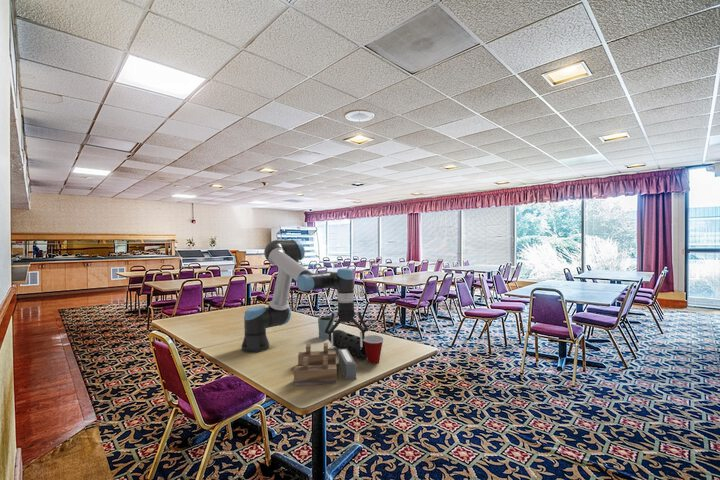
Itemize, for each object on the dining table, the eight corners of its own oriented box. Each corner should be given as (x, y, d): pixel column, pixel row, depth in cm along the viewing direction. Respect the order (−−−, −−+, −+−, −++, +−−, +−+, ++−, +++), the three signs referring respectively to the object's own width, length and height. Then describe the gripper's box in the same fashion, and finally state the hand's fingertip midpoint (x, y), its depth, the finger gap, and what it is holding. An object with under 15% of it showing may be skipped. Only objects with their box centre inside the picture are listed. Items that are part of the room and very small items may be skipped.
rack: (336, 383, 148) (336, 359, 148) (294, 385, 147) (293, 361, 147) (335, 362, 174) (335, 342, 174) (299, 363, 172) (299, 343, 172)
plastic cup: (368, 367, 167) (368, 342, 167) (359, 360, 177) (359, 336, 177) (388, 363, 171) (388, 339, 171) (378, 356, 181) (378, 333, 181)
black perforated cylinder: (359, 361, 175) (358, 341, 175) (328, 348, 197) (327, 330, 197) (373, 357, 181) (373, 337, 181) (341, 345, 203) (341, 327, 203)
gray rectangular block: (346, 380, 151) (345, 364, 151) (338, 363, 173) (338, 348, 173) (356, 379, 152) (356, 363, 152) (347, 362, 174) (347, 348, 174)
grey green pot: (320, 334, 225) (320, 316, 225) (335, 335, 224) (335, 316, 224) (316, 339, 215) (316, 319, 215) (332, 339, 214) (332, 320, 214)
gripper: (318, 304, 158) (319, 350, 157) (373, 302, 160) (374, 348, 160) (319, 301, 165) (320, 346, 165) (371, 299, 167) (372, 343, 167)
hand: (346, 347), depth 162 cm, fingers open, 13 cm apart
